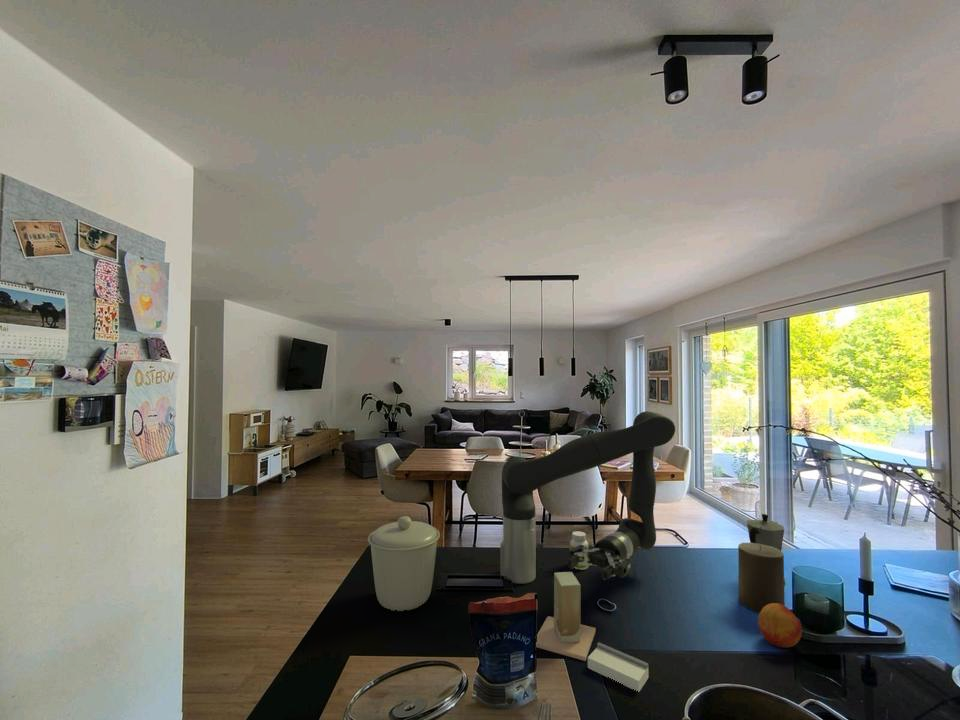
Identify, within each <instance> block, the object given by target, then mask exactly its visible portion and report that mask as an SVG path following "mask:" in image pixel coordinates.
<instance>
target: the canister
mask: <svg viewBox="0 0 960 720" xmlns="http://www.w3.org/2000/svg"><path fill="white" fill-rule="evenodd" d="M440 536H441V533H440V531H439V529H437V528H436V527H434V526H432V524H431V525H430V524H429V523H426V522H423V521H415V520H412V519H411V517H409V516H408V515H405V516H404V515H403V516H400V517H398V519H397V521H395V522H389V523H387V524H384V525H381V526H379V527H378V528H376V529H375V530H373V531H372V532H371V533H370V534H369V535H368V537H367V542H368V544H369V545H370V550H371V551H370V552H371V561H372V571H373V581H374V587H375V588H374V589H375V593H376V598H377V601H378V602H379V604H380V605H381V607H383V608H385V609H386V608H387V610H388V609H390V610H389V611H395V610H397V611H395V612H405V611H404V610H407V611H411V610H414V609H417V608H419V606H420V607H421V606H423V605H424V604H425V603H426V602H427V600H428V599H429V597H430V595H431V592H432V587H433V580H434V573H435V571H434V570H435V564H436V556H437V555H436V554H437V545H438V540H439V539H440ZM422 604H423V605H422Z"/></svg>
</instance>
